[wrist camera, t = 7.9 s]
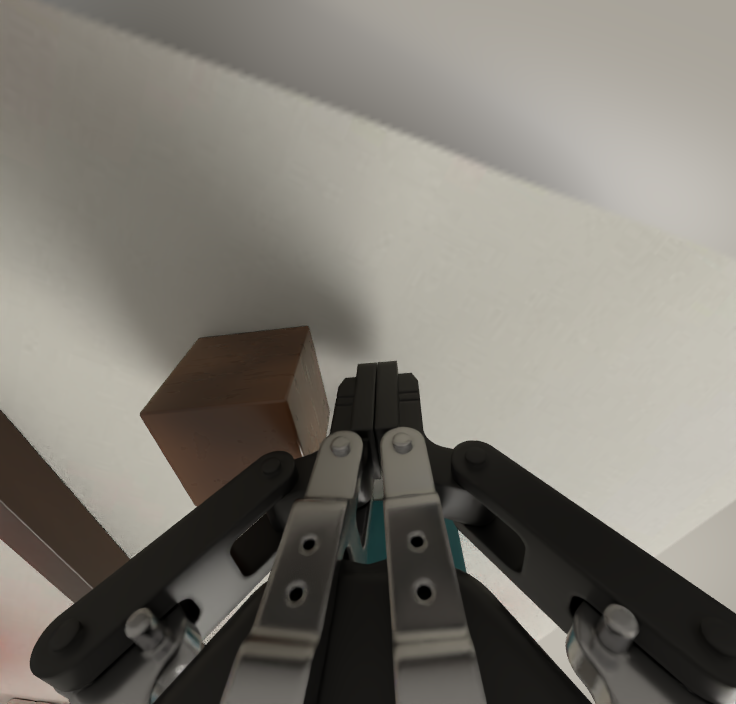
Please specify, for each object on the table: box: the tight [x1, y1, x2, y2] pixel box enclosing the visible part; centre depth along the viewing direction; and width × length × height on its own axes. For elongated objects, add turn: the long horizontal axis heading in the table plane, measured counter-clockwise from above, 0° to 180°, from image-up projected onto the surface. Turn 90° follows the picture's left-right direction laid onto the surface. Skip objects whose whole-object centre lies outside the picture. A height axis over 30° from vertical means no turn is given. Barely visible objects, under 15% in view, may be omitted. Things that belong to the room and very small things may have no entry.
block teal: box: [367, 500, 467, 573], centre depth 19 cm, size 4×4×4 cm
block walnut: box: [140, 326, 330, 506], centre depth 14 cm, size 4×4×4 cm
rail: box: [0, 411, 205, 650], centre depth 26 cm, size 2×44×2 cm, turn 7°
